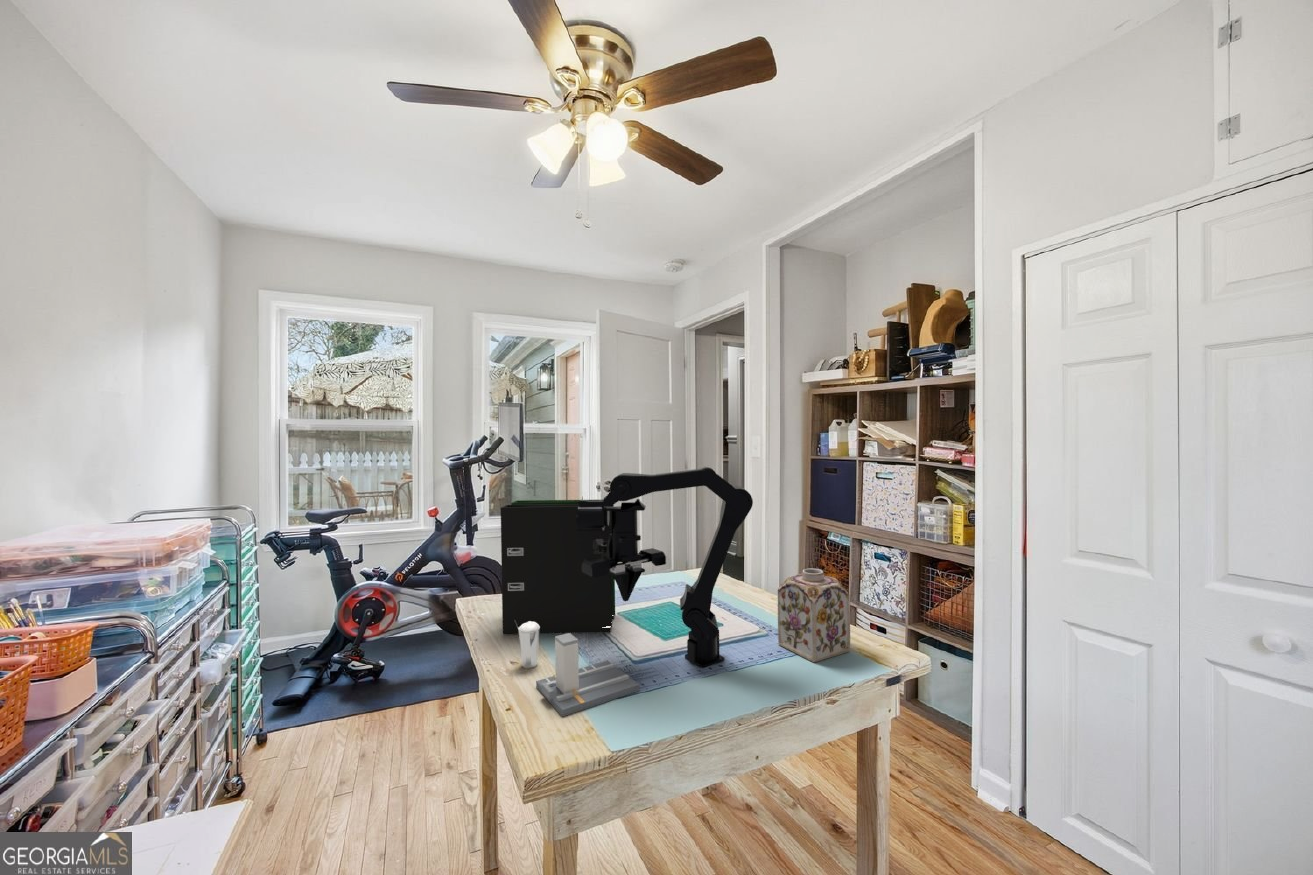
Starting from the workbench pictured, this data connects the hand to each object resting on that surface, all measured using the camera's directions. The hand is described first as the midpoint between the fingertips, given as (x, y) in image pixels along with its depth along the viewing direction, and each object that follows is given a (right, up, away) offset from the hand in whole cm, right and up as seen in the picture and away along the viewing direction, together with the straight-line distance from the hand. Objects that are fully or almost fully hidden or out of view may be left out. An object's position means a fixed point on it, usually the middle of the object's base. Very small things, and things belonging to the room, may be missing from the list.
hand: (625, 600), depth 113 cm
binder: (-18, -13, +22) cm, 31 cm away
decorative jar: (+43, -13, +4) cm, 45 cm away
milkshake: (-21, -14, -2) cm, 25 cm away
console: (-7, -13, -13) cm, 20 cm away
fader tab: (-10, -12, -15) cm, 22 cm away
